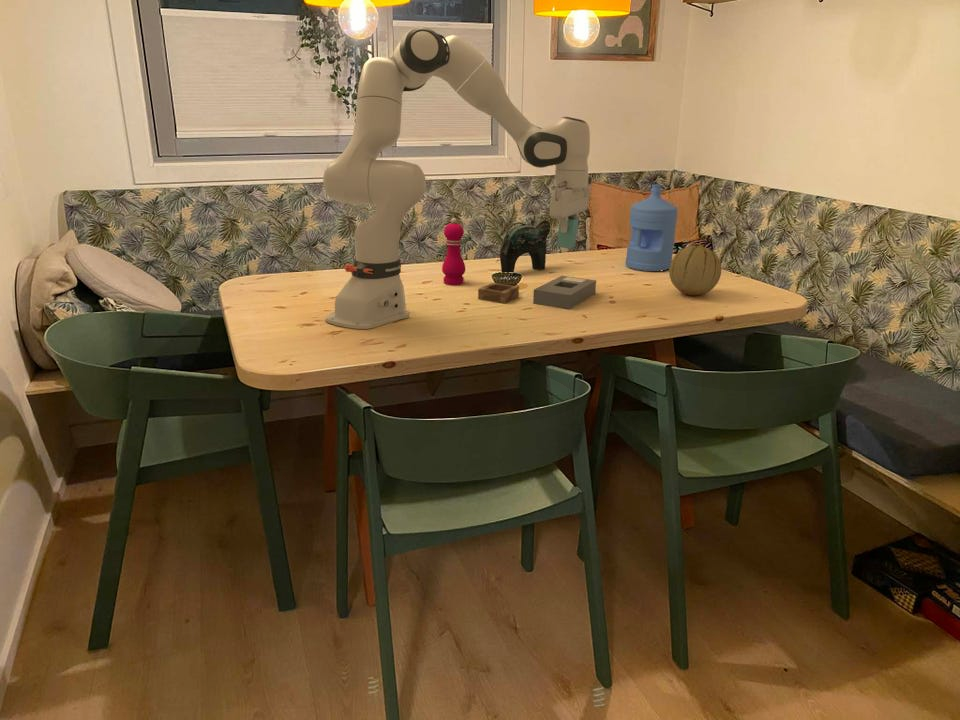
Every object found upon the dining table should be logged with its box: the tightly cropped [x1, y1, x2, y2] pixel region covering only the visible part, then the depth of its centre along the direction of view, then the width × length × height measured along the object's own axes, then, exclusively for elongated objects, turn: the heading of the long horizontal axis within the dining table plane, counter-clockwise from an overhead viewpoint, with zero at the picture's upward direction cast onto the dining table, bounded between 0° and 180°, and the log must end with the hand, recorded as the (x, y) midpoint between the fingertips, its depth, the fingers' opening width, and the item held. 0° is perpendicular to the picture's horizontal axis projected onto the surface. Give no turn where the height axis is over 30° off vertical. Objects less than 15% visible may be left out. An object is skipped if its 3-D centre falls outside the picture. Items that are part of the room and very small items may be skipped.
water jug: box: [625, 183, 678, 272], centre depth 235 cm, size 16×16×28 cm
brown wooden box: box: [477, 282, 520, 304], centre depth 198 cm, size 9×9×3 cm
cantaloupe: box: [668, 242, 722, 296], centre depth 204 cm, size 15×15×15 cm
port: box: [532, 275, 597, 310], centre depth 199 cm, size 20×11×4 cm, turn 151°
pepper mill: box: [441, 217, 466, 286], centre depth 211 cm, size 7×7×20 cm
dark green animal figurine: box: [499, 210, 551, 273], centre depth 227 cm, size 20×6×20 cm, turn 130°
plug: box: [556, 215, 580, 250], centre depth 193 cm, size 4×4×10 cm
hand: (568, 230), depth 193 cm, fingers closed on plug, 4 cm apart
